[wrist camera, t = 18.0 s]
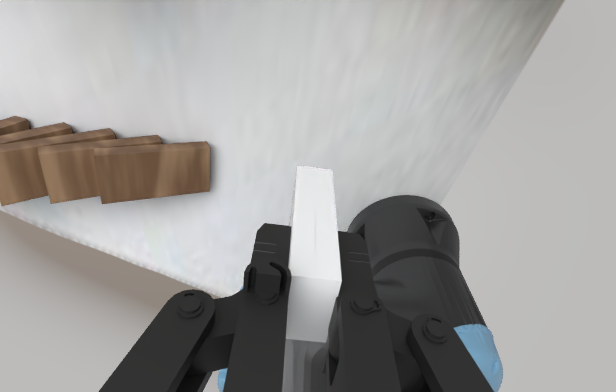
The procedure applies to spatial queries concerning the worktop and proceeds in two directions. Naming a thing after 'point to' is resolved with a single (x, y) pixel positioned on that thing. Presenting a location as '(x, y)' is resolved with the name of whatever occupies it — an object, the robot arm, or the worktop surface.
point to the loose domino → (152, 171)
